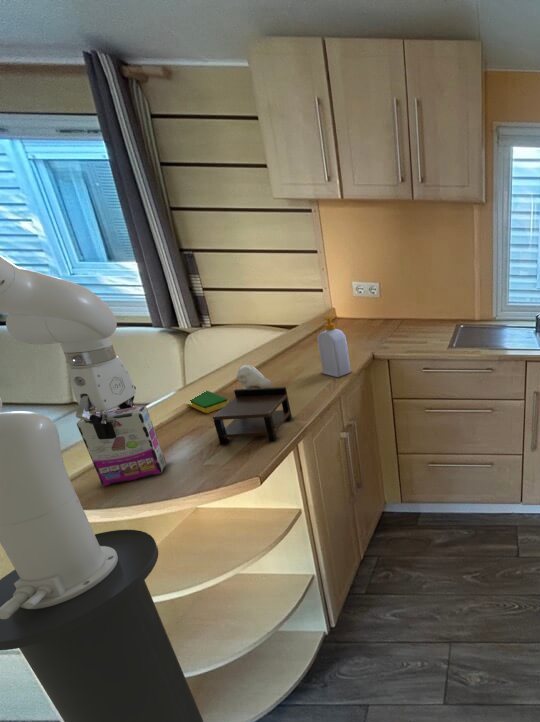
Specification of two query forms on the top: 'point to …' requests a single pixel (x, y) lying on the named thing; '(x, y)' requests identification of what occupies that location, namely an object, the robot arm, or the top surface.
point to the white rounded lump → (252, 377)
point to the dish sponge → (208, 402)
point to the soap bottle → (333, 350)
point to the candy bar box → (124, 447)
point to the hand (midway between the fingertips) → (119, 430)
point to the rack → (253, 414)
